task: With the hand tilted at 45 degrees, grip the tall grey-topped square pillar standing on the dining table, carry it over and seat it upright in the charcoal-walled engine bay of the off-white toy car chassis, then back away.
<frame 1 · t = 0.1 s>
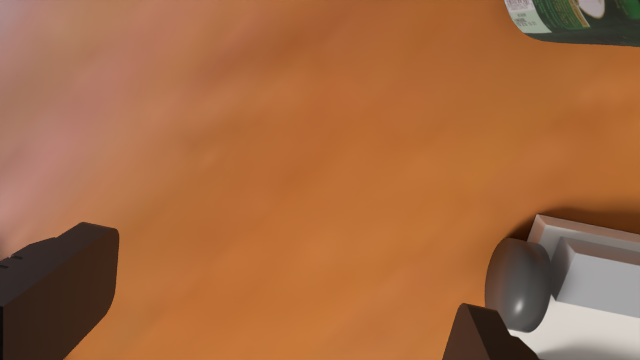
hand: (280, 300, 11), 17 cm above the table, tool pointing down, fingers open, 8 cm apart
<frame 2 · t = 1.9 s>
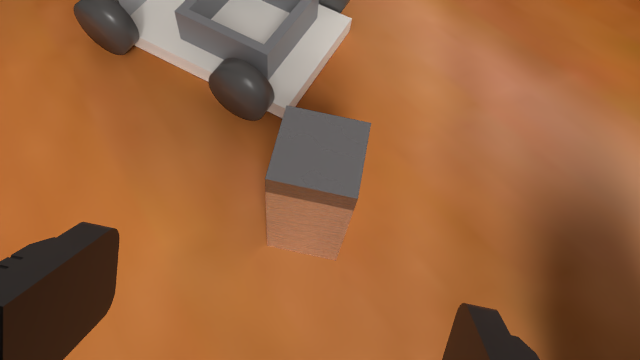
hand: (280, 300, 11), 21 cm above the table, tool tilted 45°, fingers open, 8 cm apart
grey-topped square pillar: (308, 221, 35), on the table
car chassis: (223, 27, 43), on the table
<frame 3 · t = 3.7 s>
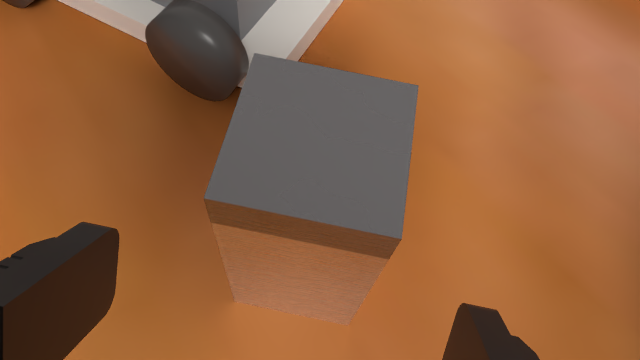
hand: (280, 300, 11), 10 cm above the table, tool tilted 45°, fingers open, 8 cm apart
grey-topped square pillar: (302, 259, 22), on the table
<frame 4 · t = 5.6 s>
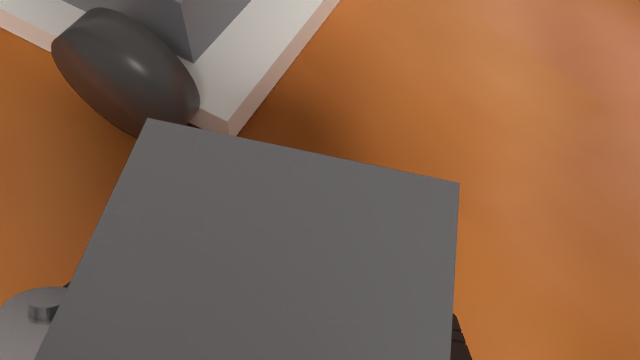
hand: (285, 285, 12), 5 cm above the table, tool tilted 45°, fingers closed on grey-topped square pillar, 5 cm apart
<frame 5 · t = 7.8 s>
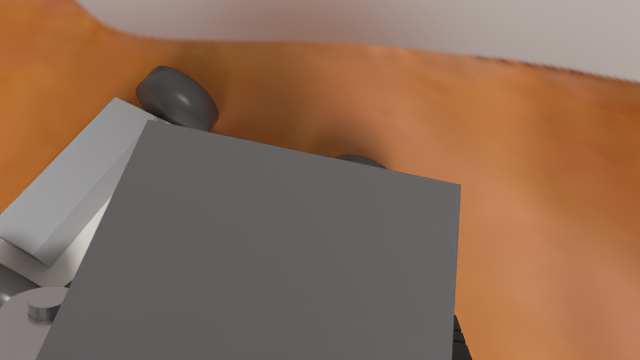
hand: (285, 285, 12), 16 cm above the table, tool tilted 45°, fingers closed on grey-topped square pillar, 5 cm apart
car chassis: (208, 255, 28), on the table
when the fingers open (8 cm above the table, at t = 10.3 s): grey-topped square pillar drops 2 cm, resting on car chassis.
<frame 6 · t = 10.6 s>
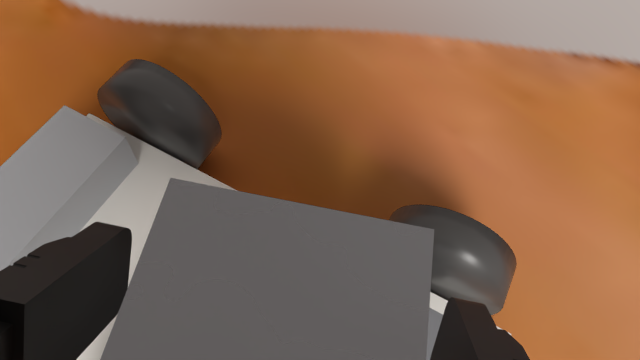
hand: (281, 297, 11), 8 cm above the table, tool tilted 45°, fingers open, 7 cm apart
car chassis: (203, 354, 18), on the table
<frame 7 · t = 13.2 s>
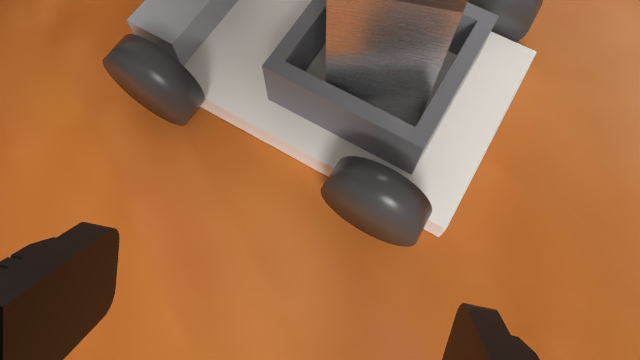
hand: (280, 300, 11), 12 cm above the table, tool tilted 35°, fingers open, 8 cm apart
grey-topped square pillar: (379, 77, 26), point 1 cm above the table, touching car chassis
car chassis: (328, 68, 28), on the table
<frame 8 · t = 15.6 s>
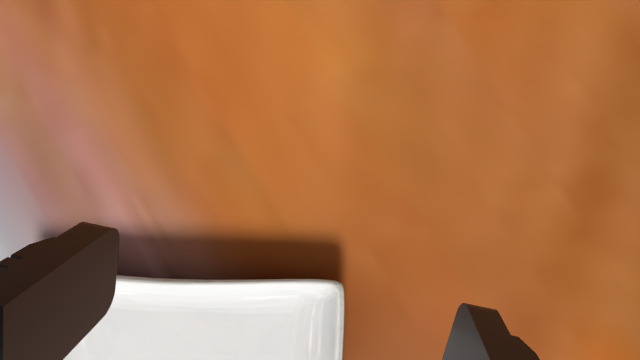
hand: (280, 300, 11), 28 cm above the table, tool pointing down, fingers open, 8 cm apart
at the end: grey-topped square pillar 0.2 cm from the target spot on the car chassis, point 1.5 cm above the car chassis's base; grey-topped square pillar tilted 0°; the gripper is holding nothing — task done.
